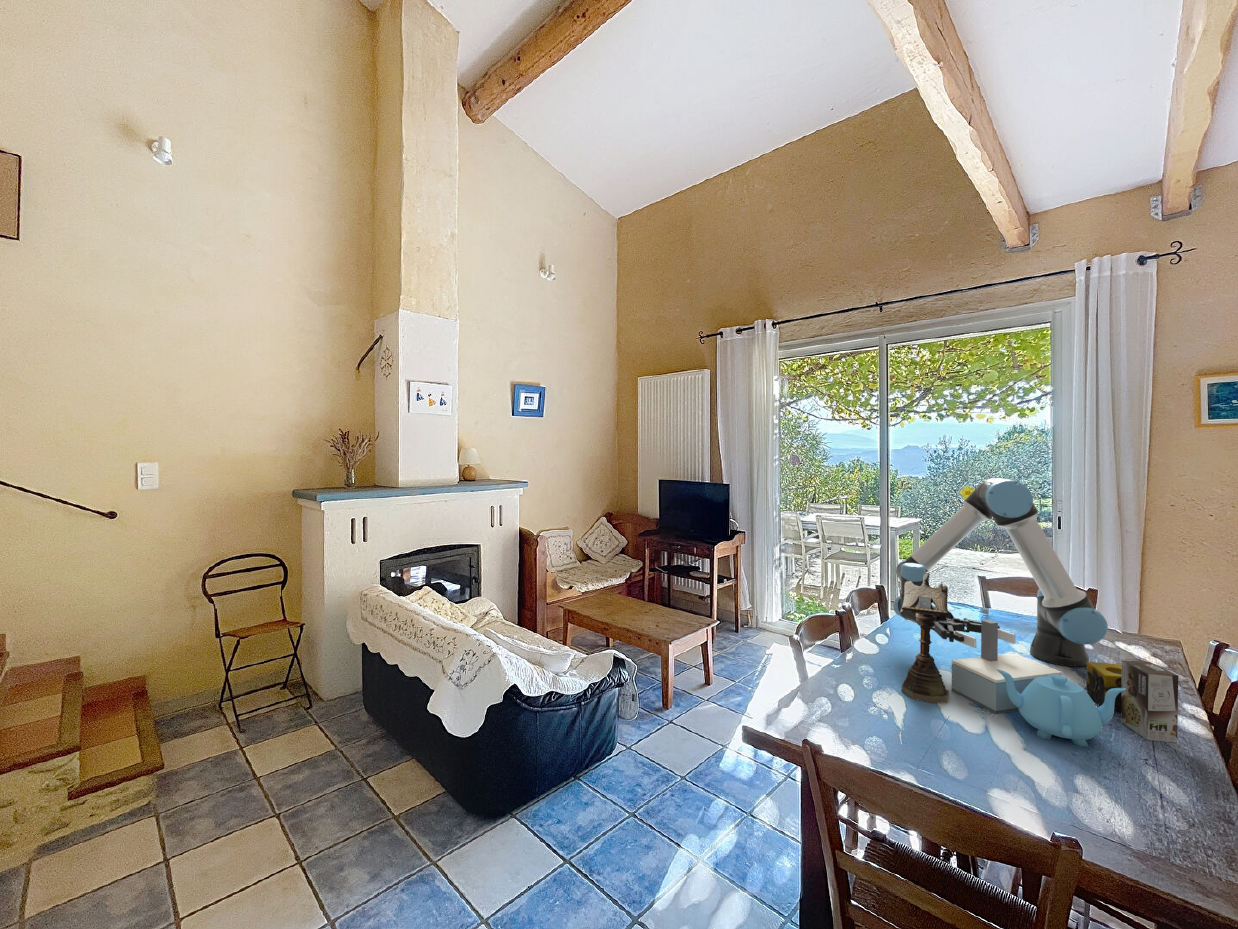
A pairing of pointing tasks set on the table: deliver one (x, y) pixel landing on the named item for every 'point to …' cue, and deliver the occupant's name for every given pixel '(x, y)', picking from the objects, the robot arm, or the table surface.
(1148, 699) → the coffee box
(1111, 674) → the candle
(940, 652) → the table surface
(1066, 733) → the teapot
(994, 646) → the carton lid
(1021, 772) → the table surface
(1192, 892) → the table surface
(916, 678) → the bird statue
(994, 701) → the carton
